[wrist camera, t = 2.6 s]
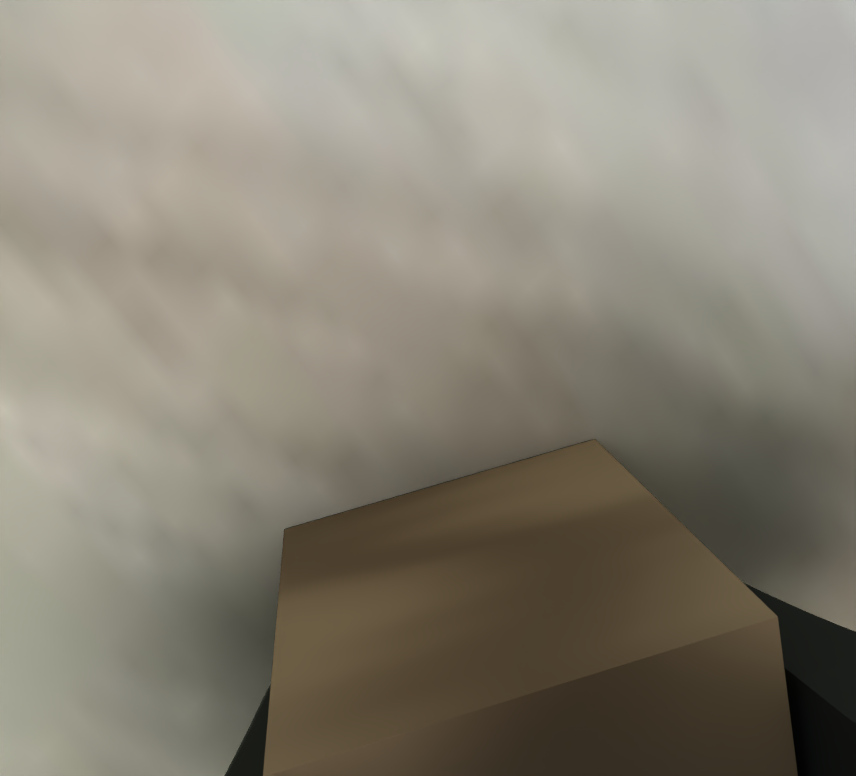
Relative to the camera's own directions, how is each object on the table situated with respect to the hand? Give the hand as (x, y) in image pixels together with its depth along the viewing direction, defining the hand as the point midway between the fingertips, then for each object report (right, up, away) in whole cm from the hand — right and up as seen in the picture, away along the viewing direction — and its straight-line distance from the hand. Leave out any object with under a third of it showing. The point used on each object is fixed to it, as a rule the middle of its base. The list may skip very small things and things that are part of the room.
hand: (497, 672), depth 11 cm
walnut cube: (0, 0, +1) cm, 1 cm away
